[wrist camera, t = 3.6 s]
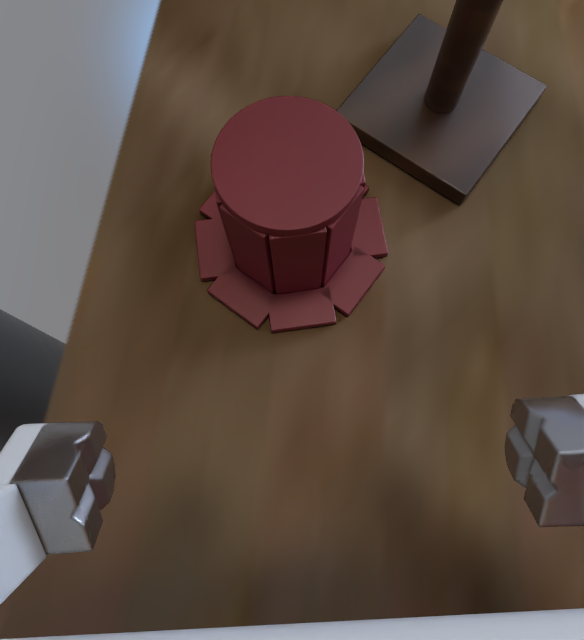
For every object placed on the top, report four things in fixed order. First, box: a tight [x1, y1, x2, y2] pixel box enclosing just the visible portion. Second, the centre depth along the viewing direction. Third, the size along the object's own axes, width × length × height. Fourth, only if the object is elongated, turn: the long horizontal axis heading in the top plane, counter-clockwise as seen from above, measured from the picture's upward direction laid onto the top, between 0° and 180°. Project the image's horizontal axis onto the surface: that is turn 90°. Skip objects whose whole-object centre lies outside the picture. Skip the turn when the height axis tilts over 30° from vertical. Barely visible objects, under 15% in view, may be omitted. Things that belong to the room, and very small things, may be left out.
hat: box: [195, 96, 388, 333], centre depth 26 cm, size 10×10×8 cm
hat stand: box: [337, 0, 547, 205], centre depth 24 cm, size 9×9×15 cm
